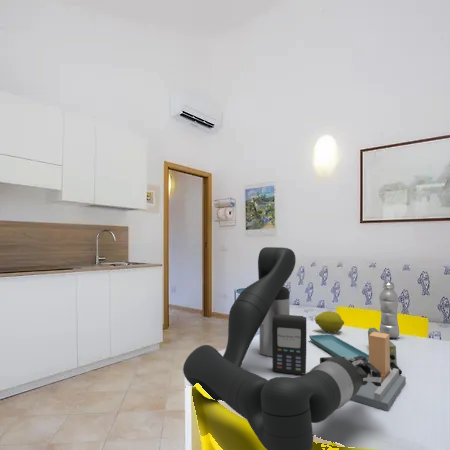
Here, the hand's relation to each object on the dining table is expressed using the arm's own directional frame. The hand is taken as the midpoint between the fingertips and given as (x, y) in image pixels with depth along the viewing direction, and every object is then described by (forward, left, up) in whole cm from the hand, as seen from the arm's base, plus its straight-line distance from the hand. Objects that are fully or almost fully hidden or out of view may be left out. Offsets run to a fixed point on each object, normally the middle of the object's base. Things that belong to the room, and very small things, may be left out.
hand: (363, 360), depth 74 cm
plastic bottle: (+22, +54, -9) cm, 59 cm away
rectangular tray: (+1, +33, -10) cm, 34 cm away
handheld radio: (+13, +29, -9) cm, 33 cm away
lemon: (+1, +57, -9) cm, 58 cm away
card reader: (-16, +14, -9) cm, 23 cm away
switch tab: (+6, +11, -7) cm, 14 cm away
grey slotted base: (+4, +7, -9) cm, 12 cm away
